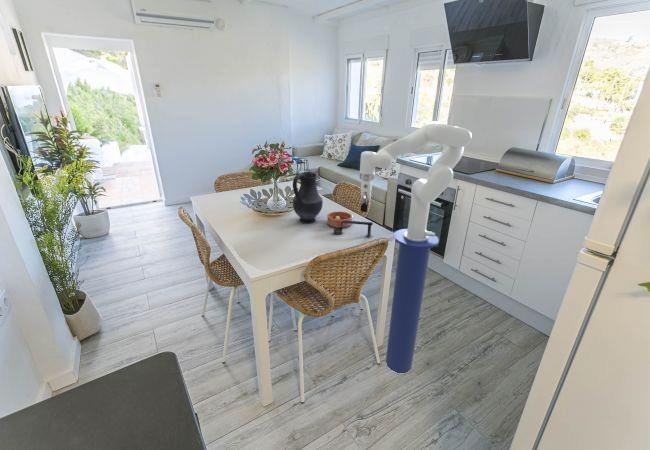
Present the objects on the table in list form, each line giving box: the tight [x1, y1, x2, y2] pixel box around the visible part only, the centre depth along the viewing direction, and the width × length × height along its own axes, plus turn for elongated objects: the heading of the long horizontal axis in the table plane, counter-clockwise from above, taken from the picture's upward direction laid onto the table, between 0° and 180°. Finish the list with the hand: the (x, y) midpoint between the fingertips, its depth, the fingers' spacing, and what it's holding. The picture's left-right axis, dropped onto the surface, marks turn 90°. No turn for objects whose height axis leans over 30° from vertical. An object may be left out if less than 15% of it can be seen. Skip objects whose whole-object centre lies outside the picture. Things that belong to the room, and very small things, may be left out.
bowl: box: [326, 211, 353, 229], centre depth 184 cm, size 15×15×5 cm
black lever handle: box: [333, 220, 374, 238], centre depth 170 cm, size 21×5×8 cm, turn 80°
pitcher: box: [292, 171, 324, 224], centre depth 182 cm, size 17×21×30 cm
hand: (364, 208), depth 164 cm, fingers open, 9 cm apart
